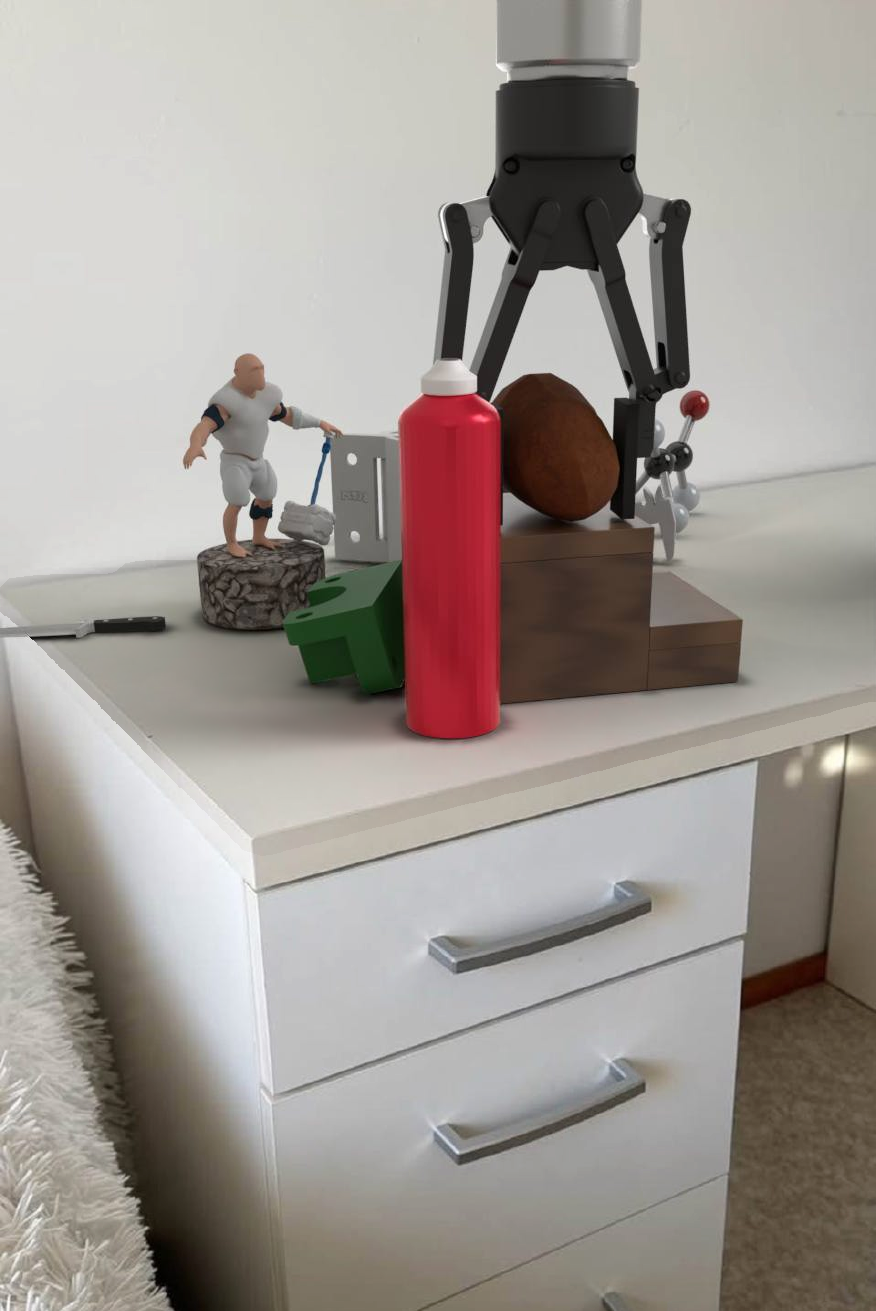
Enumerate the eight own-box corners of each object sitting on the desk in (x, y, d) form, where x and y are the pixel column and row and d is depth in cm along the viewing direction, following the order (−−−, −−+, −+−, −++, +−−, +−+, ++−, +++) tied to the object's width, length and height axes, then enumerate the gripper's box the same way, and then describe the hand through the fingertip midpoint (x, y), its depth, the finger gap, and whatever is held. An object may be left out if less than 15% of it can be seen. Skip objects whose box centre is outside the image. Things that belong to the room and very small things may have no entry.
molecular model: (594, 527, 125) (598, 402, 121) (652, 502, 134) (658, 385, 130) (680, 538, 121) (687, 409, 117) (734, 511, 130) (743, 391, 126)
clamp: (349, 714, 96) (325, 582, 96) (434, 696, 95) (409, 562, 95) (291, 704, 84) (263, 554, 84) (386, 683, 83) (358, 531, 83)
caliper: (674, 561, 115) (678, 483, 112) (672, 565, 114) (677, 486, 111) (430, 551, 119) (428, 475, 117) (427, 554, 118) (425, 478, 116)
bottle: (457, 699, 86) (453, 350, 77) (519, 722, 82) (522, 358, 73) (387, 721, 82) (374, 359, 74) (448, 746, 79) (443, 368, 70)
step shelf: (667, 627, 98) (675, 481, 94) (738, 681, 88) (751, 520, 84) (443, 646, 95) (441, 496, 91) (488, 705, 85) (489, 538, 80)
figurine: (232, 648, 95) (209, 368, 88) (148, 626, 100) (119, 359, 93) (376, 601, 106) (367, 346, 98) (293, 583, 111) (278, 339, 103)
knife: (-53, 636, 97) (-47, 627, 99) (-51, 646, 98) (-45, 637, 99) (163, 623, 99) (165, 615, 100) (164, 632, 99) (166, 624, 101)
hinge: (331, 558, 117) (326, 432, 113) (378, 547, 120) (374, 424, 116) (453, 586, 108) (452, 451, 104) (500, 573, 112) (501, 442, 107)
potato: (535, 548, 81) (518, 408, 77) (460, 501, 90) (441, 374, 86) (653, 513, 83) (642, 375, 79) (567, 471, 92) (554, 345, 88)
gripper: (727, 79, 79) (700, 496, 89) (368, 82, 76) (381, 511, 86) (777, 70, 72) (742, 522, 82) (385, 73, 69) (397, 540, 79)
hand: (557, 516), depth 84 cm, fingers closed on potato, 7 cm apart
